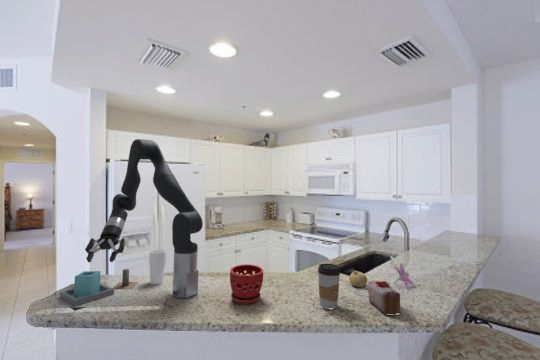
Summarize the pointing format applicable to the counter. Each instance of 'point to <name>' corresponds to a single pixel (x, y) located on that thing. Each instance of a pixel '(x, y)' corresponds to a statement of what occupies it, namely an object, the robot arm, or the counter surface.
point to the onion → (358, 279)
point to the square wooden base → (125, 281)
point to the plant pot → (246, 283)
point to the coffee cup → (328, 285)
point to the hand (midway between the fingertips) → (99, 261)
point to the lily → (404, 276)
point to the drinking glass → (157, 266)
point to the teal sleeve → (87, 283)
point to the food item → (384, 297)
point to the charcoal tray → (75, 301)
